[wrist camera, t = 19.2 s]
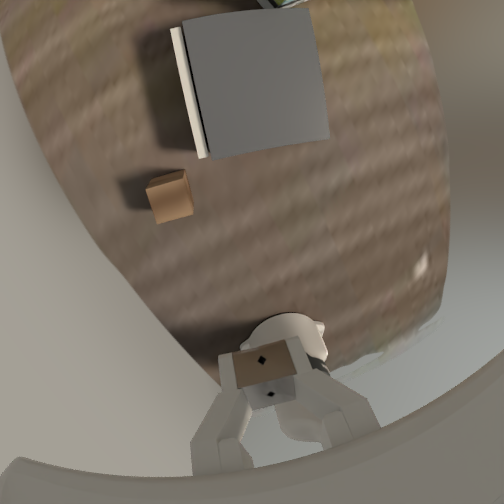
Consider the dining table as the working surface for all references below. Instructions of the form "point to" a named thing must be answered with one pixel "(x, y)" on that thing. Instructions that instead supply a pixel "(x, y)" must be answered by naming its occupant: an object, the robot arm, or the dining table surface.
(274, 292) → the dining table surface
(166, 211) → the wooden block
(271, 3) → the tea box
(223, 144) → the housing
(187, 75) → the cream drawer
